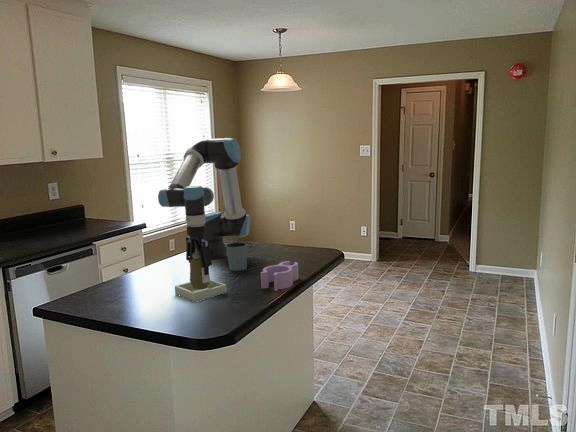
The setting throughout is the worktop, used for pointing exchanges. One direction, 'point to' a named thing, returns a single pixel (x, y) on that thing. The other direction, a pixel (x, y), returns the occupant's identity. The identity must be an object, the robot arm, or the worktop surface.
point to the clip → (279, 275)
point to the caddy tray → (197, 295)
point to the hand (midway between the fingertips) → (200, 280)
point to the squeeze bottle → (197, 272)
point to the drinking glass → (237, 255)
